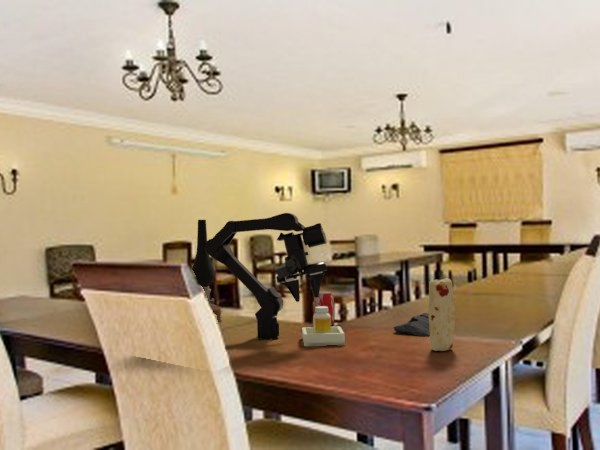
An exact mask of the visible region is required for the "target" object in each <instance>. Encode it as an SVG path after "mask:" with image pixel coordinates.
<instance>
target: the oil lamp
mask: <svg viewBox="0 0 600 450" xmlns="http://www.w3.org/2000/svg"><path fill="white" fill-rule="evenodd" d="M207 231H208V230H207V220H206V219H198V220H197V242H196V253H195V258H194V261H193V265H192V267H191V269H192V270H193V271H194V273H195V275H196V277H197V280H198V282H199V284H200V285H201V286H202V287H203V289H204V291H205V293H206V295H207V298H208V301H209V303H210V302H211V303H210V305H211V307H212V310H213V312H214V313H215V314H216V315H217V320H218V322H219V323H218V324H220V323H222V320H223V319H222V317H221V314H222V313H221V307H220V306H218V305H216V304H215V303H214V302H215V298H213V297H211V299H210V297H209V296H210V294H211V291H212V289H211V288H210V287H209V286H210V285H211V284H212V283H213V282H214V281H215V278H216V272H215V267H214V265H213V263H212V260H211V256H210V255H208V254H207V253H206V251H205V244H206V242H207V241H208V233H207Z"/></svg>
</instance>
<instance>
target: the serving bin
mask: <svg viewBox="0 0 600 450" xmlns="http://www.w3.org/2000/svg"><path fill="white" fill-rule="evenodd" d="M345 336H346V334H345V332H344V331H343V329H342V327H341V326H339V325H337V326H331V333H317V334H313V326H312V327H311V326H307V327H306V326H304V327H302V328H301V339H303V340H302V343H304V344H303V346H304V347H325V346H326V347H328V346H327V345H337V346H345V345H346V344H345V343H346V342H345V341H346V339H345Z"/></svg>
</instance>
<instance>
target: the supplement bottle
mask: <svg viewBox="0 0 600 450" xmlns="http://www.w3.org/2000/svg"><path fill="white" fill-rule="evenodd" d="M315 312H316V313H315V314H314V313H313V316H312V327H313V334H317V333H331V327H332V325H331V319H330V314H328V313H327V312H328V307H326V306H318V307H315Z"/></svg>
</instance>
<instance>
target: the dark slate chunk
mask: <svg viewBox="0 0 600 450" xmlns="http://www.w3.org/2000/svg"><path fill="white" fill-rule="evenodd" d="M393 331H394V332H397V333H399V334H405V333H407V335H411V334H412V336H417V335H419V336H418V337H425V336H430V328H429V315H428V312H424V313H422V314H419V315H413V316H412V317H411V318H410V320H409V321H407V322H405V323H402V324H399V325H395V326H393Z"/></svg>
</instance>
